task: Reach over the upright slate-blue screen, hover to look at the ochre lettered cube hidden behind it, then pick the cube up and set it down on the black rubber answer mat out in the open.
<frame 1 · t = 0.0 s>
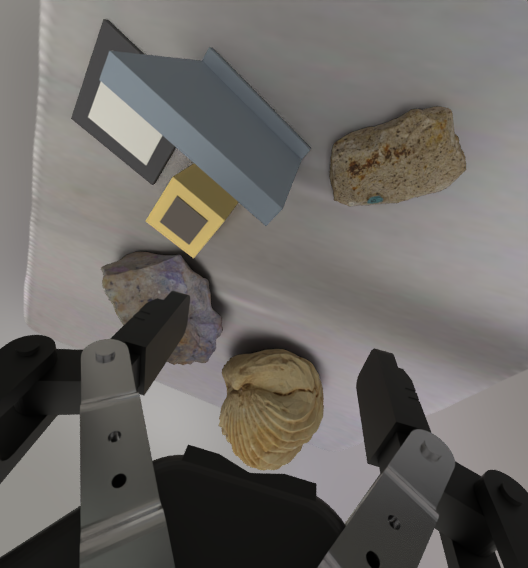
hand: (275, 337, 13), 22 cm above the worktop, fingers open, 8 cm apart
fossil: (275, 365, 48), on the worktop
stone: (176, 287, 43), on the worktop
screen: (251, 119, 28), on the worktop
rock: (385, 160, 28), on the worktop
answer mat: (134, 112, 30), on the worktop
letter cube: (205, 200, 34), on the worktop
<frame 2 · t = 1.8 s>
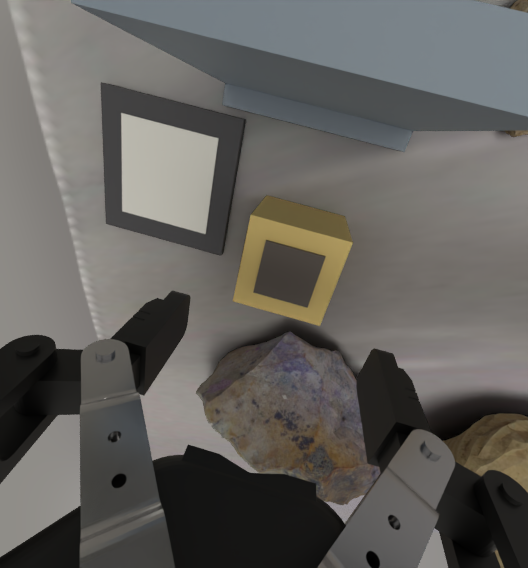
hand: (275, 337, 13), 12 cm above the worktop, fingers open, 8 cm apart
fossil: (484, 441, 30), on the worktop
stone: (295, 378, 30), on the worktop
screen: (321, 93, 19), on the worktop
answer mat: (170, 176, 23), on the worktop
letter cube: (294, 242, 24), on the worktop
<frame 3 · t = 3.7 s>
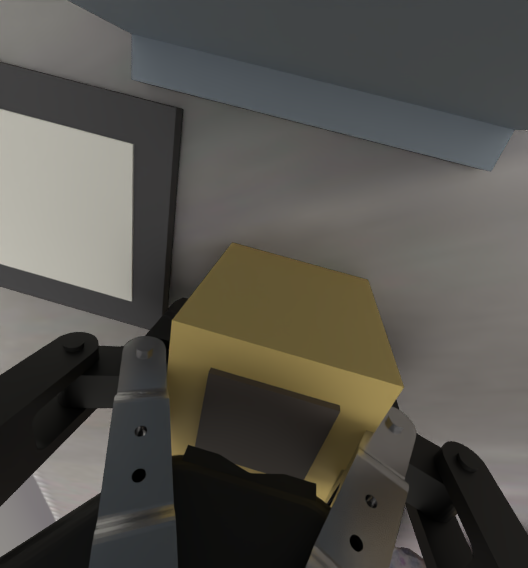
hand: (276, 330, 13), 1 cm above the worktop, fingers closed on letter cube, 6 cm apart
stone: (286, 489, 21), on the worktop
screen: (326, 54, 9), on the worktop
answer mat: (66, 208, 13), on the worktop
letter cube: (282, 316, 14), on the worktop, touching gripper
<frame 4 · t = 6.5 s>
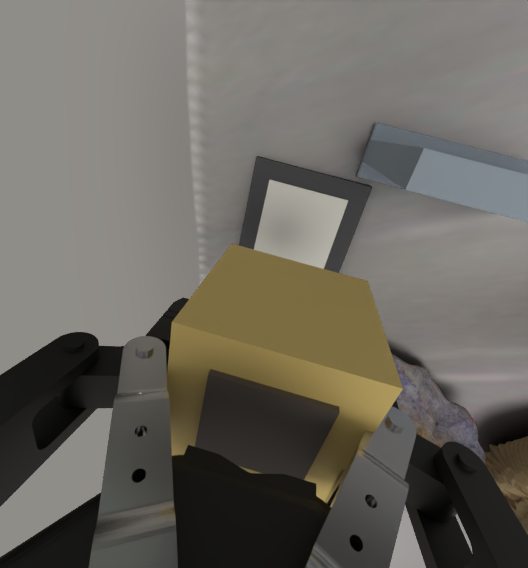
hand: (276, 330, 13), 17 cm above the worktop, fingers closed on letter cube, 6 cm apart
stone: (377, 388, 35), on the worktop
screen: (437, 169, 24), on the worktop
answer mat: (298, 226, 28), on the worktop
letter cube: (281, 317, 14), point 15 cm above the worktop, touching gripper
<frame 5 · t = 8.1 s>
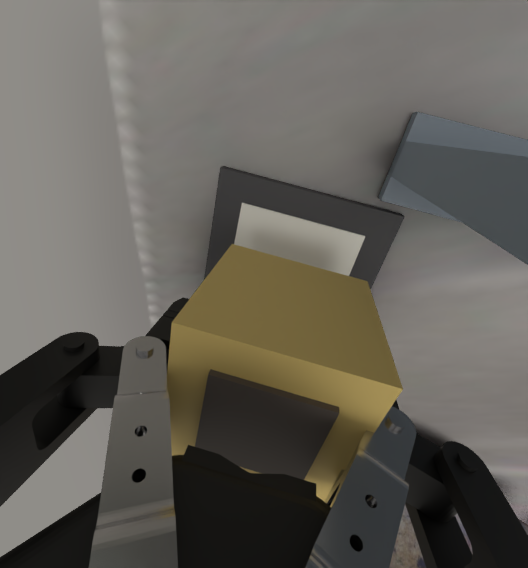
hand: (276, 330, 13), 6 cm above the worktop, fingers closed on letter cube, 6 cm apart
stone: (397, 475, 26), on the worktop
screen: (513, 189, 15), on the worktop
answer mat: (287, 269, 19), on the worktop
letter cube: (281, 318, 14), point 5 cm above the worktop, touching gripper
when the fingers open (3 cm above the worktop, at t = 9.5 s): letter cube stays where it is, resting on answer mat.
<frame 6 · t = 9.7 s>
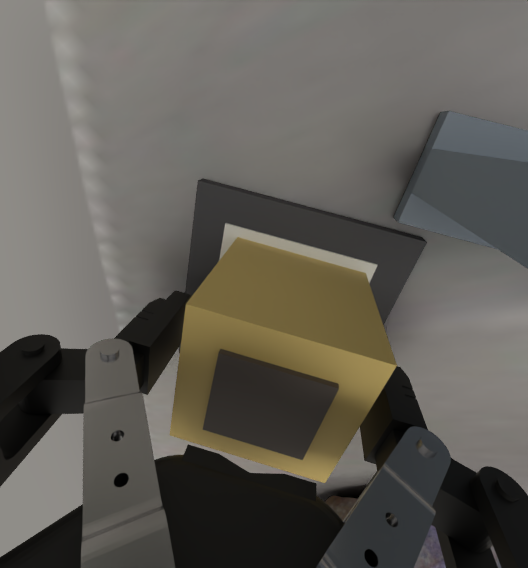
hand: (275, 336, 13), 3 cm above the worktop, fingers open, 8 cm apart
stone: (410, 525, 23), on the worktop
answer mat: (282, 301, 15), on the worktop
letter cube: (283, 308, 15), point 1 cm above the worktop, touching answer mat
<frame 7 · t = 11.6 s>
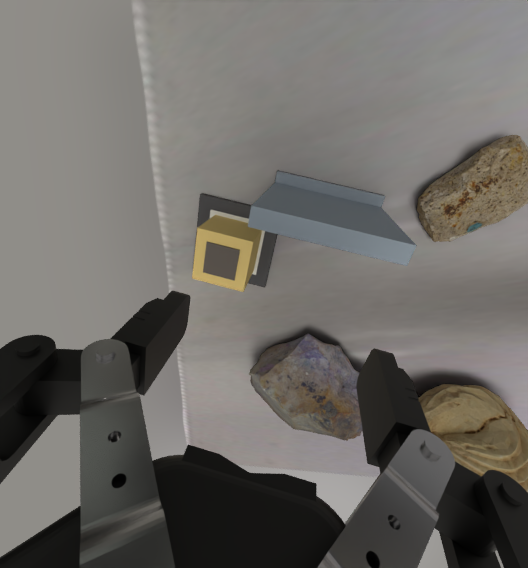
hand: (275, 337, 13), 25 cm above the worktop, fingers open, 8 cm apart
fossil: (440, 406, 44), on the worktop
stone: (311, 366, 45), on the worktop
screen: (325, 200, 34), on the worktop
rock: (466, 192, 32), on the worktop
answer mat: (235, 241, 38), on the worktop
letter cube: (235, 243, 37), point 1 cm above the worktop, touching answer mat
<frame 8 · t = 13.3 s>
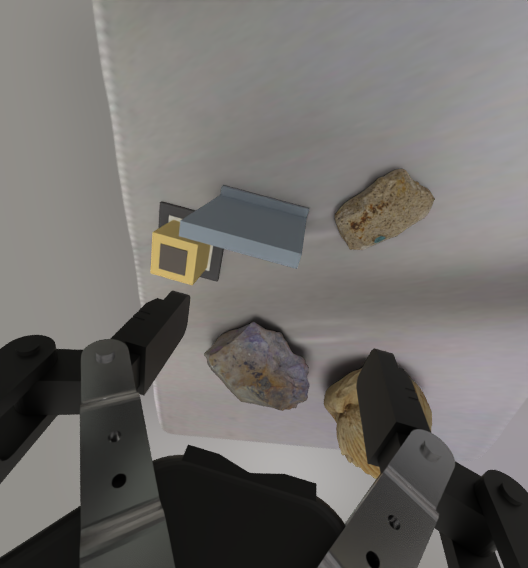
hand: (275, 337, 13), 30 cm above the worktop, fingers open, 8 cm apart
fossil: (369, 385, 52), on the worktop
stone: (260, 349, 52), on the worktop
screen: (262, 210, 41), on the worktop
rock: (376, 210, 39), on the worktop
answer mat: (191, 242, 45), on the worktop
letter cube: (190, 244, 44), point 1 cm above the worktop, touching answer mat
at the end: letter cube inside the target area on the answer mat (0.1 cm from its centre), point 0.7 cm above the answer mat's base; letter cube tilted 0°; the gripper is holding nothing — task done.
